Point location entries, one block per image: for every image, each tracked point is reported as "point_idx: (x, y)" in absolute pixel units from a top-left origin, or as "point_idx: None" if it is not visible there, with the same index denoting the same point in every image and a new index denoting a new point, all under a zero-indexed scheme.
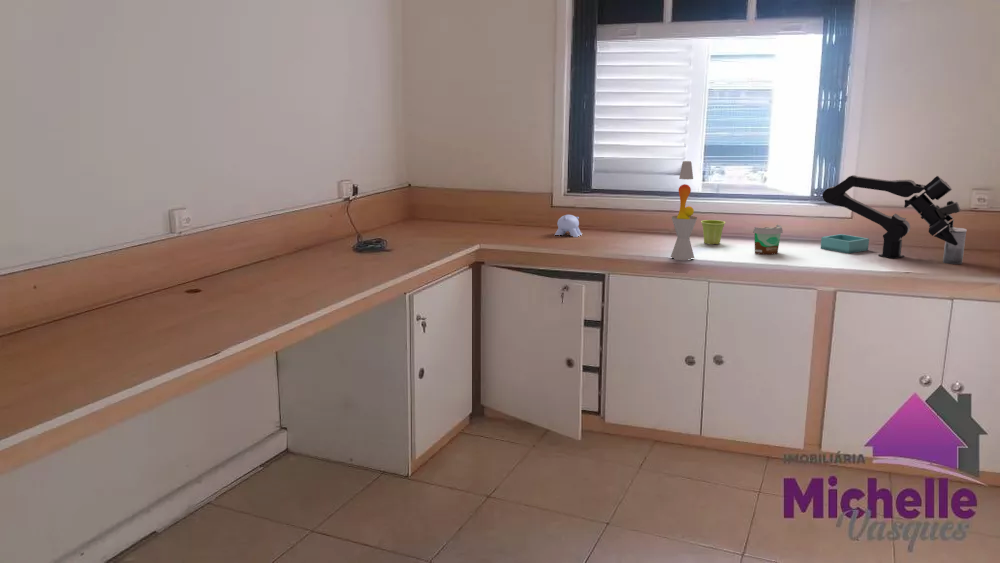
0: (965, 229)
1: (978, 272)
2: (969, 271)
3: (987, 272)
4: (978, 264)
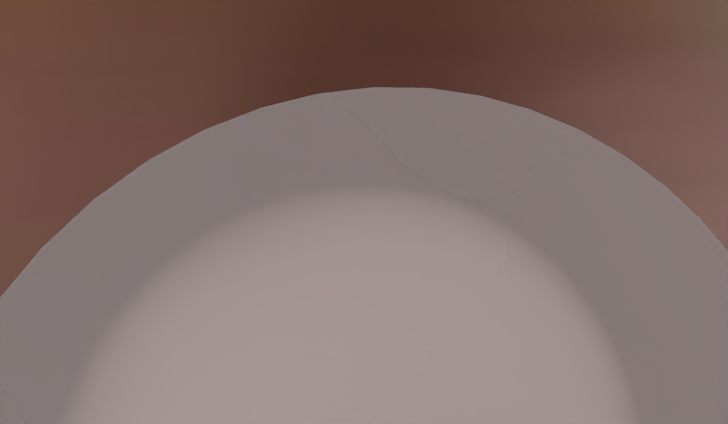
0: (383, 145)
1: (685, 81)
2: (691, 158)
3: (634, 6)
4: (228, 86)
